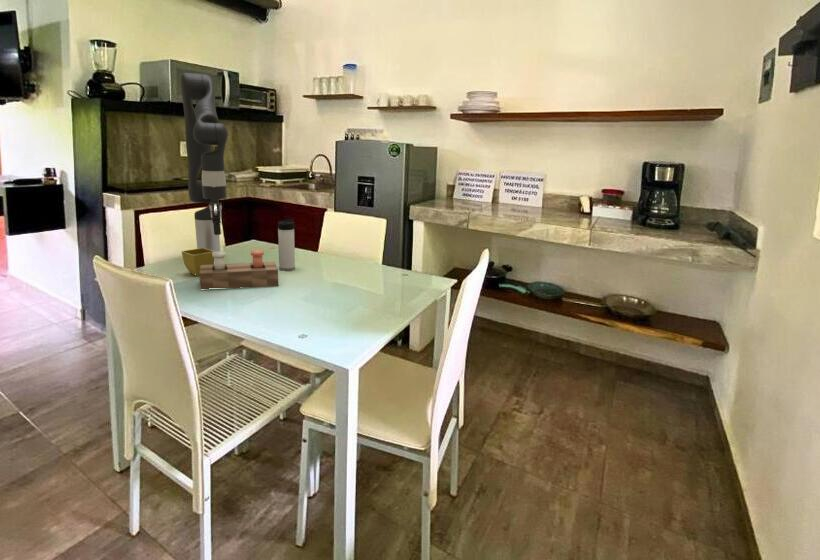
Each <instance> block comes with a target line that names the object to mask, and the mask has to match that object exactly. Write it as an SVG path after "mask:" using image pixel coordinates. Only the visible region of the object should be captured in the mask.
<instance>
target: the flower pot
mask: <svg viewBox="0 0 820 560" xmlns="http://www.w3.org/2000/svg"><path fill="white" fill-rule="evenodd" d="M180 252H181V255H182V259H183V263H184V266H185V268H186V269H187V271H188V272H189V273H190V272H191V273H193V274H192V275H194V274H196V275H200V274H199V273H200V266H201V265H213V264H214V257H212V253H213V252H215V251H212V250H208V249H205V248H198V249H197V248H193V249H187V250H182V251H180ZM191 273H190V274H191ZM196 275H195V276H196Z"/></svg>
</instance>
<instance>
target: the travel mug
mask: <svg viewBox="0 0 820 560" xmlns="http://www.w3.org/2000/svg"><path fill="white" fill-rule="evenodd" d="M277 238H278V265H279V266H278V270H280V271H283V272H284V271H288V272H291V271H294V270H295V269H296V259H295V258H296V257H295V254H296V252H295V222H294V220H292V219H290V218H289V219H288V218H287V219H286V218H285V219H283V220H279V221H278V222H277Z"/></svg>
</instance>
